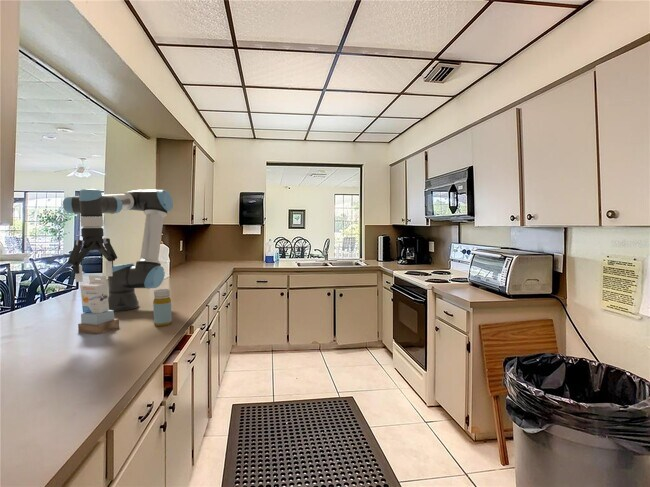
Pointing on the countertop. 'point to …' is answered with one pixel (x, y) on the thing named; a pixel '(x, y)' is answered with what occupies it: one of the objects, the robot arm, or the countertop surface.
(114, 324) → the walnut block
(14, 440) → the countertop surface
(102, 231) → the robot arm
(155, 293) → the bottle
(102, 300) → the ink box
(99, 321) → the light grey block
